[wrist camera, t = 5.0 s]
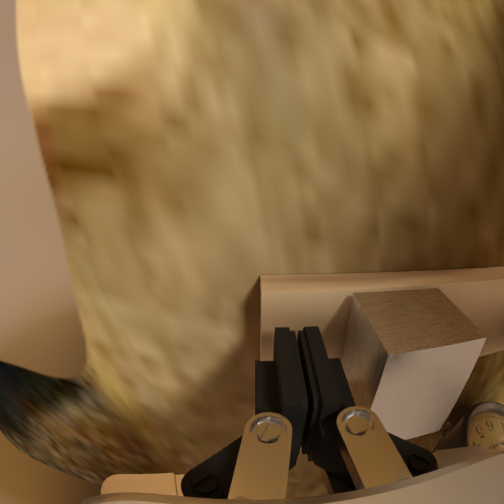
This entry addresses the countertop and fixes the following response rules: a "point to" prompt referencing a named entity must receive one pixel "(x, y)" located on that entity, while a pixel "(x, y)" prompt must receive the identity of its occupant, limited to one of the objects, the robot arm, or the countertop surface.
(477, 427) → the alarm clock
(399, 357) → the block
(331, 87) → the countertop surface
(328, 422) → the robot arm
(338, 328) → the track
